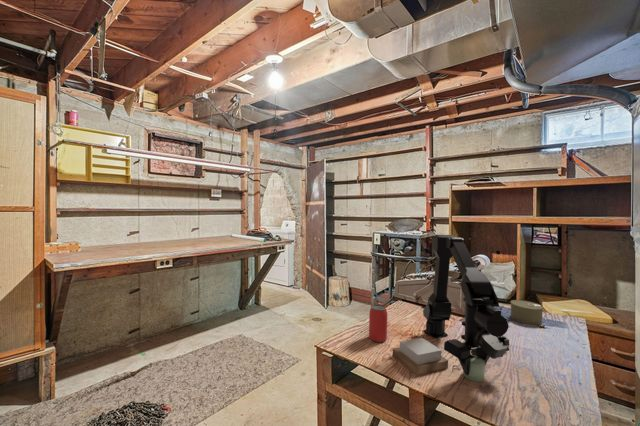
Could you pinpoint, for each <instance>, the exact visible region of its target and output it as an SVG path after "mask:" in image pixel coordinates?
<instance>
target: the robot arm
mask: <svg viewBox="0 0 640 426" xmlns="http://www.w3.org/2000/svg"><path fill="white" fill-rule="evenodd" d="M430 242H431V247H432V248H431V249H432V252H433V253H434V255H435V265H434V266H435V268H434V279H433V289H432V291H433V292H432V293H431V294H430V295H429V297H428V299H427V304H426V306H424V308H423V310H422V314H423V317H424V318H425V319H426V321H425V322H426V323H425V329H423V332H424V333H426V334H428V335H429V336H430V337H432V338H434V339H438V338H443V337H447V336H448V335H449V334H448V333H446V330H445V329H446V321H447V322H448V321H450V319H451V316H452V310H453V309H452V303H451V302H450V299H449V298H448V296H447V294H448V286H449V275H450V263H451V259H452V258H453V260H454V261H455V264H456V266H457V268H458V270H459V273H460V275H461V280H460V286H461V287H460V288H461V292H462V294H463V296H464V297H463V298H462V300H463V301H464V302H465V312H464V313H465V314H464V315H465V316H464V317H465V318H464V320H463V321H461V326H463V327H464V334H461V337H460V339H462V340H464V342H462V341H460V340H458V339H456V338H453V339H449V340H445V341H444V342H443V343H444V344H443V350H444V351H445V352H447V353H448V354H450V355H451V356H454V357H455V358H457V359H458V361H459V365H460V366H461V369H462V371H463V372H464V373H465V374H466V375H469V370H470V361H471V359H473V358H474V356H473V355H472V354H471V351H472V349H476V356H478V357H480V358H482V359H483V360H484V361H485V366H487V363H488V361H489V359H493V360H495V359H498V358H503V357H504V356H505V353H506V352H508V351H510V339H509V338H508V337H507V336H506V335H505V334H506V333H507V332H508V330H509V323H508V320H507V318H506V317H505V316H503V315H502V311H501V310H500V309H498V308H499V307H500V304H499V301H500V300H499V297H498V296H497V294H496V291H495V289H494V286H493V284H492V282H491V281H490V279H489V277H487V275H486V274H485V273H484V272H481V271H480V270H479V269H478V267H477V266H476V264H475V262H474V259H473V258H472V256H471V254H470V251H469V249H468V248H467V246H466V241H465V239H464V237H460V236H454V235H453V234H435V235H434V236H433V237H432V238H431V241H430ZM502 335H503V336H502ZM500 336H501V337H500Z"/></svg>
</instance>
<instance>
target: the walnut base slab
mask: <svg viewBox="0 0 640 426" xmlns="http://www.w3.org/2000/svg"><path fill="white" fill-rule="evenodd" d="M392 357H394V358H395V359H396V360H397V361H398V362H400V363H401V364H402V365H403V366H405V367H406V368H407V369H408V370H409V371H411V372H412V373H413V374H414V375H415V376H420V375H424V374H429V373H433V372H436V371H442V370H445V369H448V368H449V360H448V359H447V358H445V357H443V356H442V355H441V360H437V361H433V362H428V363H424V364H419V365H417V364H416V363H415V362H414V361H412V360H411V359H410V358H409V357H407V356H406V355H405V354H403V353H402V352H401V351H400V346H399V347H394V348H392Z"/></svg>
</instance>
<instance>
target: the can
mask: <svg viewBox="0 0 640 426" xmlns="http://www.w3.org/2000/svg"><path fill="white" fill-rule="evenodd" d="M543 310H544V306H543V305H541V304H540V303H536V302H532V301H529V300H523V299H522V300H521V299H512V300H510V317H511V319H512V320H514V321H516V322H520V323H524V324H528V325H541V324H542V323H543Z"/></svg>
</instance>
